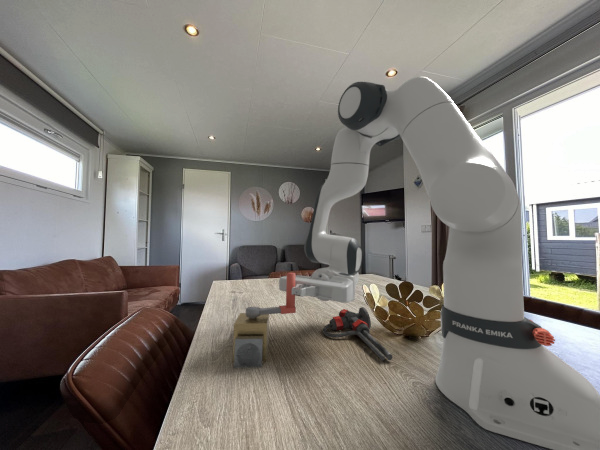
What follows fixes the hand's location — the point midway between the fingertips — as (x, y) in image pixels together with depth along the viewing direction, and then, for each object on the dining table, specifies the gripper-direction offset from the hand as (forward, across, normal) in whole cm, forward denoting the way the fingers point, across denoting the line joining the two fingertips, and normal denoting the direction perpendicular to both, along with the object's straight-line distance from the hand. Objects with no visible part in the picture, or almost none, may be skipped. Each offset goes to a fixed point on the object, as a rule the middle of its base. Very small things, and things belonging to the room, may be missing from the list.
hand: (296, 292), depth 52 cm
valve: (-17, +7, +15) cm, 24 cm away
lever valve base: (+6, -8, +14) cm, 17 cm away
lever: (+2, -6, +5) cm, 8 cm away
